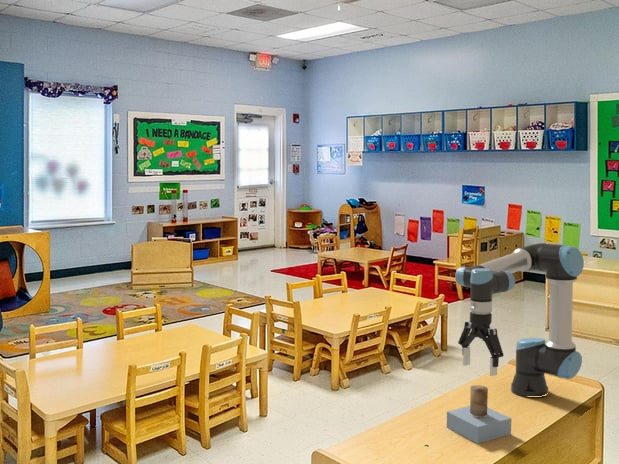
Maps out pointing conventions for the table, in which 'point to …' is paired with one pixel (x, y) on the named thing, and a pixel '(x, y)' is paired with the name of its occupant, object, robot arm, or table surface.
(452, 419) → the seat block
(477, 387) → the peg
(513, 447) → the table surface
